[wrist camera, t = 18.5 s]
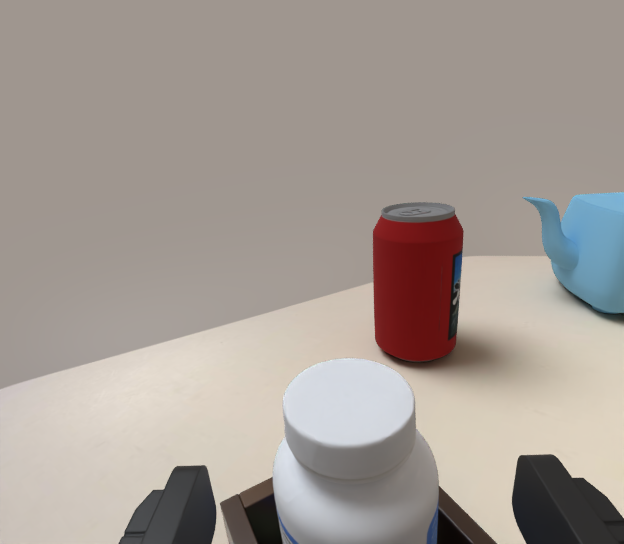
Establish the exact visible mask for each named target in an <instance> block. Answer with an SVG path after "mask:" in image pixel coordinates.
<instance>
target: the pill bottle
mask: <svg viewBox="0 0 624 544" xmlns="http://www.w3.org/2000/svg"><path fill="white" fill-rule="evenodd" d="M283 415H284V423H285V437H284V439H283V440H282V442H281V444H280V446H279V448H278V451H277V453H276V456H275V460H274V465H273V489H274V496H275V502H276V509H277V514H278V520H279V525H280V531H281V536H282V542H283V544H437V525H438V502H439V480H438V470H437V466H436V462H435V459H434V456H433V453H432V451H431V449H430V447H429V445H428V443H427V442H426V440H425V439H424V437H423V436H422V435H421V434H420V432H419V431H418V430H417V429H416V418H415V398H414V394H413V391H412V389H411V387H410V385H409V384H408V382H407V381H406V380H405V379H404V378H403V377H402V376H401V375H400V374H399V373H398V372H396V371H395V370H393V369H392V368H390V367H388V366H386V365H383V364H381V363H378V362H374V361H370V360H366V359H357V358H341V359H333V360H328V361H324V362H321V363H318V364H315V365H313V366H311V367H309V368H307V369H306V370H304V371H302V372H301V373H300V374H298V375H297V376H296V377H295V378H294V379H293V380H292V381H291V383H290V384H289V385H288V387H287V389H286V391H285V393H284V398H283Z"/></svg>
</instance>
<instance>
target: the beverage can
mask: <svg viewBox="0 0 624 544" xmlns="http://www.w3.org/2000/svg"><path fill="white" fill-rule="evenodd" d="M462 248H463V228H462V226H461V224H460V223H459V221H458V219H457V217H456V215H455V208H454V207H452V206H450V205H446V204H440V203H425V202H423V203H421V202H419V203H403V204H396V205H392V206H388V207H385V208H383V209H382V215H381V217H380V219H379V221H378V223H377V224H376V226H375V228H374V231H373V272H374V273H373V274H374V318H375V339H376V342H377V344H378V346H379V347H380V348H381V349H382V350H384V351H385V352H387V353H389V354H391V355H393V356H395V357H397V358H399V359H402V360H406V361H411V362H426V361H431V360H434V359H437V358H441V357H443V356H445V355H447V354H449V353H450V352H451V351H452V350H453V349H454V347H455V345H456V335H457V323H458V310H459V297H460V282H461V266H462Z"/></svg>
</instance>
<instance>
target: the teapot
mask: <svg viewBox="0 0 624 544" xmlns="http://www.w3.org/2000/svg"><path fill="white" fill-rule="evenodd" d="M523 198H524V199H525V200H527V201H529V202H530V203H532V204H533V205H534V206H535V207H536V208H537V209H538V211H539V213H540V216H541V221H542V242H543V246H544V250H545V252H546V254H547V256H548V257H549V258H550V259H551V264H552V269H553V271H554V274H555V276H556V277H557V279H558V280H559V281H560V282H561V283H562V284H563V286H565V287H566V288H567V289H568V290H569V291H571V292H572V293H573V294H575V295H576V296H578V297H579V298H581V299H582V300H584V301H586V302H587V303H589V304H591V305H592V307H593V308H594V309H595V310H597V311H600V312H603V313H609V314H617V313H624V192H621V193H600V194H583V195H575V196H574V197H573V198H572V200H571V202H570V204H569V206H568V208H567V210H566V212H565V214H564V217H563V218H562V221H561V223H560V218H559V212H558V209H557V207H556V206H555V204H554V203H553V202H552V201H550V200H547V199H541V198H532V197H523Z"/></svg>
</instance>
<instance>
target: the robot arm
mask: <svg viewBox="0 0 624 544" xmlns="http://www.w3.org/2000/svg"><path fill="white" fill-rule="evenodd" d="M512 506H513V512H514V516H515V519H516V522H517V525H518V527H519V529H520V531H521V533H522V535H523V537H524V540H525V542H526V544H624V518H623V517H622V516H621V514H620V513H619V512H618V511H617V509H616V508H615V507H614V505H613V504H612V503H611V502H610V500H609V499H608V498H607V497H606V496H605V495H604V494H602V493H601V492H600V491H599V490H597V489H596V488H595V487H594V486H592V485H591V484H590V483H589V482H587V481H586V480H585V479H584V478H572V477H571V476H570V474H569V473H568V471H567V470H566V469H565V467H564V466H563V465H562V463H561V462H560V461H559V459H558V458H557V457H556V456H554V455H551V454H548V455H521V456H519V458H518V461H517V468H516V475H515V481H514V488H513V495H512ZM215 525H216V505H215V500H214V496H213V492H212V487H211V483H210V478H209V474H208V470H207V467H206V466H205V465H202V466H177V467H175V468H174V470H173V471H172V473H171V475H170V477H169V480H168V482H167V484H166V486H165V489H164V490H153V491H152V492H151V493H150V494H149V495H148V496H147V497H146V499H145V500H144V501H143V502H142V503H141V504H140V505H139V506H138V507H137V509H136V510H135V512H134V514H133V516H132V518H131V520H130V522H129V524H128V526H127V528H126V530H125V534H124V537H122V538H121V540H120V542H119V544H211V543H212V539H213V535H214V531H215Z"/></svg>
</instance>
